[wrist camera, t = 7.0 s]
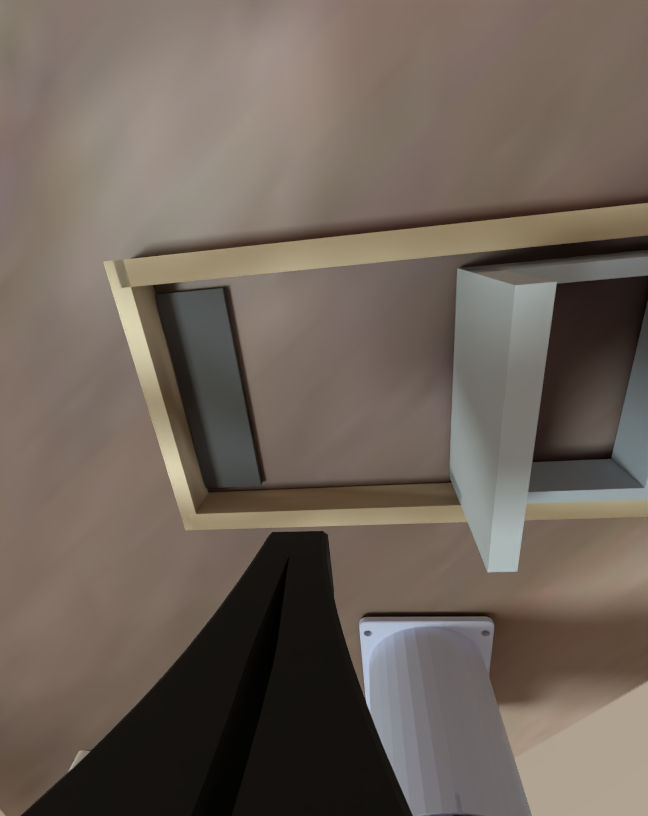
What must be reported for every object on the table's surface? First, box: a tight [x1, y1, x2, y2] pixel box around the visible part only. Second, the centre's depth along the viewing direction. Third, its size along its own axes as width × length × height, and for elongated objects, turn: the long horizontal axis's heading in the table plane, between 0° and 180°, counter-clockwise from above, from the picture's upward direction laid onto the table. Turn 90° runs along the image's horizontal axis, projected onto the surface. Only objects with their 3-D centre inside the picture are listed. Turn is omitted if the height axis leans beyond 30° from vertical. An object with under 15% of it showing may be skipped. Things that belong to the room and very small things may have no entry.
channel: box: [103, 203, 648, 530], centre depth 16 cm, size 13×24×3 cm, turn 96°
